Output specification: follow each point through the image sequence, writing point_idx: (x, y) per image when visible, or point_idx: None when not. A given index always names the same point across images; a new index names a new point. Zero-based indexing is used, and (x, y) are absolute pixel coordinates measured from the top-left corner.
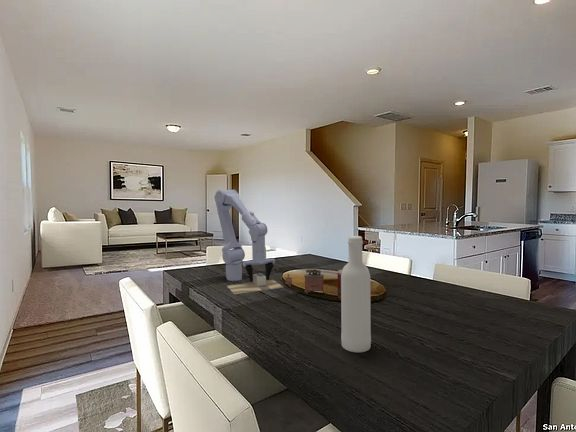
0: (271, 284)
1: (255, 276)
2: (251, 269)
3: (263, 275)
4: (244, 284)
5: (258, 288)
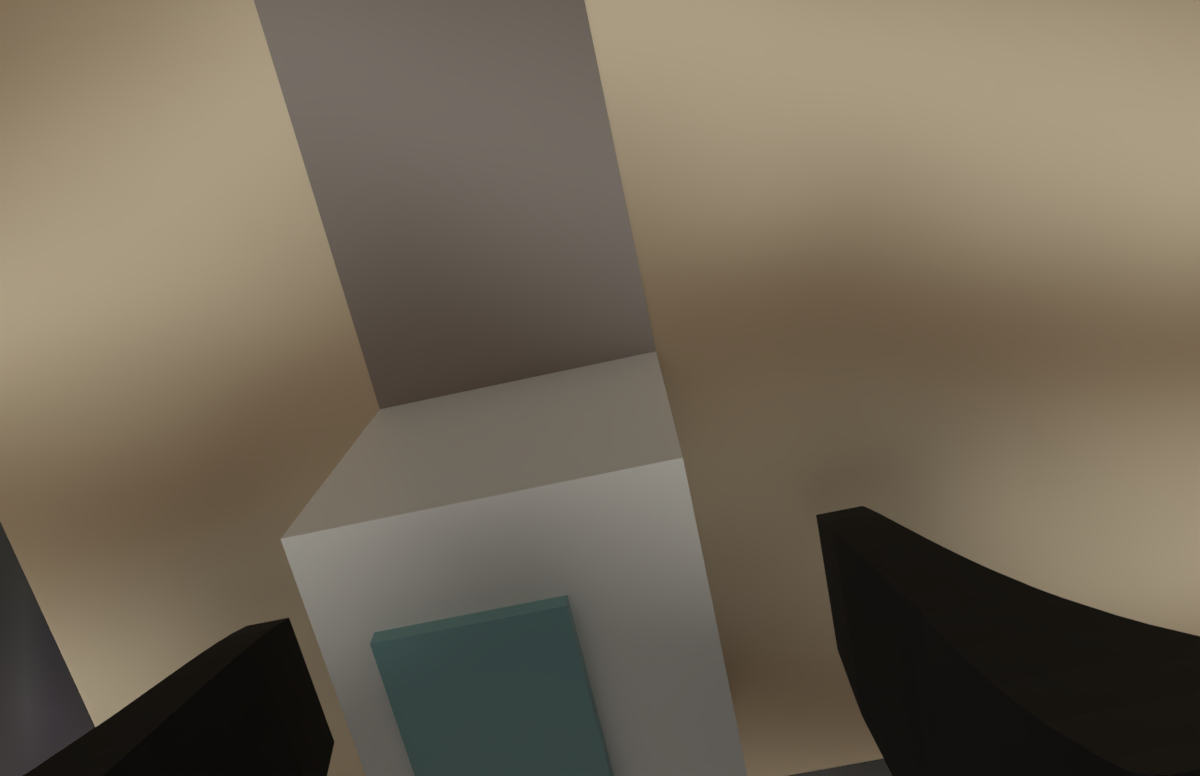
0: (209, 447)
1: (724, 670)
2: (1169, 722)
3: (378, 639)
4: None
5: (648, 99)
